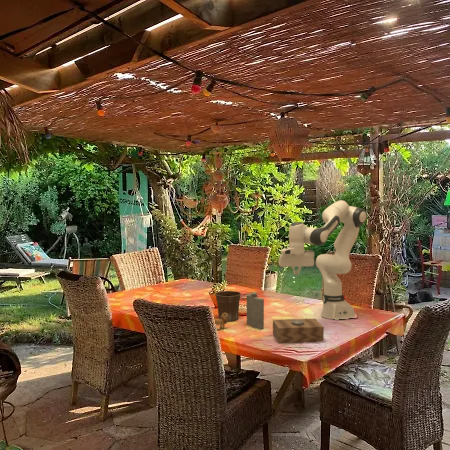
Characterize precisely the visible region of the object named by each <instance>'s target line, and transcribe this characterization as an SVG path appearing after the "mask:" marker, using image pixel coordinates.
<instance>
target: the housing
mask: <svg viewBox="0 0 450 450" xmlns="http://www.w3.org/2000/svg"><path fill="white" fill-rule="evenodd" d="M292 320H302V321H304V324H303V325H293V324H291V321H292ZM324 331H325V327H324V325H322V324H321V323H320V321H318V319H316V318H295V319H294V318H292V319H287V318H285V319H272V335H273V337H274V338H275V340H276V342H277V344H295V343H296V344H298V343H301V344H303V343H304V342H306V343H318V342H317V341H324V338H325V337H324V335H325V334H324V333H325V332H324Z"/></svg>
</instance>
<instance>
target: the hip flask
mask: <svg viewBox="0 0 450 450" xmlns="http://www.w3.org/2000/svg"><path fill="white" fill-rule="evenodd" d="M264 301H265V298H261V297H258V292H254V291H253V292H250V293H247V294H246V324H247V325H248V326H250V327H252V328H254V329H257V330H260V331H261V330H264V329H265V314H264V313H265V302H264Z"/></svg>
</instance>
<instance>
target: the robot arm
mask: <svg viewBox="0 0 450 450" xmlns="http://www.w3.org/2000/svg"><path fill="white" fill-rule="evenodd" d="M321 214H322V215H321V219H322V220H323V222H324V223H325V224H324V225H323V226H322V227H309V226H306V225H305V224H304V223H303V222H301V221H297V222H295V221H294V222H291V224H290V226H289V228H288V229H289V231H288V240H289V243H288V247H285V248H282V249H280V255H279V258H278V265H279V266H280V268H284V267H285V268H288V267H289V268H290V267H291V269H292V271H293V275H300V271H301V270H302V267H314V265H315V267H316V268H317V269H318V270H319V271H320V274H321V277H322V281H323V293H322V305H323V306H322V309H321V314H320V316H321V317H322V318H324V319H329V320H333V319H335V320H334V321H340V320H339V319H346V318H353V317H355V315H356V313H355V309H354V307H353V306H352V305H351V304H350V303H349V302H347V300H348V296H347V295H344V294H342V293H343V291H342V290H343V283H342V280H341V279H340V278H339V276H338V275H345V274H348V273H349V272H351V270H352V262H351V260H350V254H351V250H352V249H353V246H354V244H355V242H356V240H357V238H358V236H359V233H360V232H359V231H360V227H361V226H362V225H363V224H364V223H365V222H366V219H367V212H366V210H365V209H364V208H361V207H357V206H351V205H349V204H348V203H347V201H345V200H337V201H335V202H333V203H332V204H330V205H329V206H328V207H326V208H325V209H324V210H323V211H322V213H321ZM340 223H343V227H342V228H341V229H340V232H339V233H338V235H337V236H336V238H335V241H334V242H333V247H334V249H335V252H334V254H328V253H323V254H319V255H318V256H317V257H316V258H314V257H315V251H313V250H311V249H306V250H305V244H306V245H314V246H318V247H321V246H324V245H325V243H326V242H327V241H328V239H329V237H330V236H331V235H332V234H333V232H334V231H335V230H336V229H337V228H338V227H339V225H340ZM296 267H297V268H298V269H297V270H295V269H296ZM337 274H338V275H337ZM346 320H347V319H346Z"/></svg>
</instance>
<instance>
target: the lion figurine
mask: <svg viewBox="0 0 450 450" xmlns="http://www.w3.org/2000/svg"><path fill="white" fill-rule="evenodd" d="M228 317H229V316H228V314H227V313H223V314H222V316H221V317H220V318H219V317H218V318H213V319H214V320H215V324H216V325H215V326H219V329H220V330H221V329H222V330H223V329H225V324H227V323H228V322H229V321H228Z"/></svg>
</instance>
